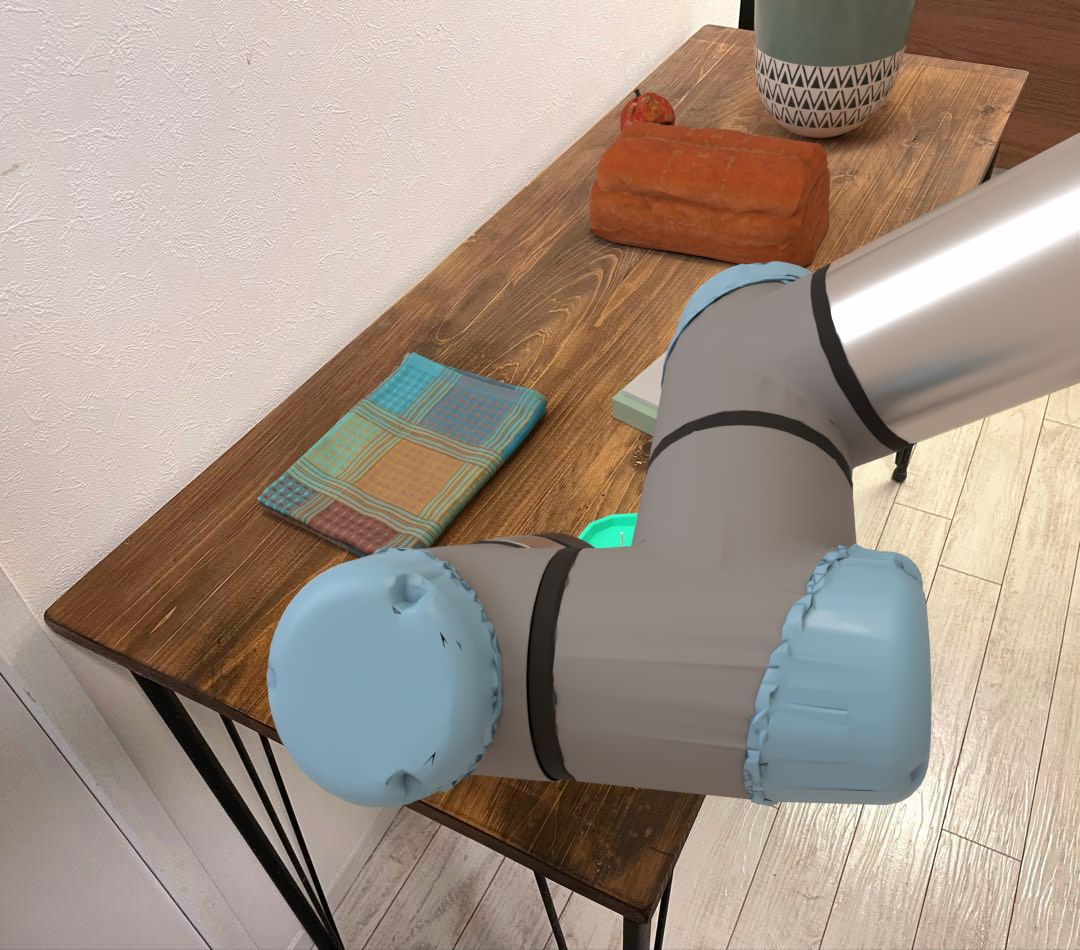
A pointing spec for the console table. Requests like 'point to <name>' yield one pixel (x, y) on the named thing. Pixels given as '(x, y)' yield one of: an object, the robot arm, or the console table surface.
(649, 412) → the scale
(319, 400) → the console table surface
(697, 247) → the bread
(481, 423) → the dish towel
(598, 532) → the candle
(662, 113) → the red round fruit
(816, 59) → the planter
